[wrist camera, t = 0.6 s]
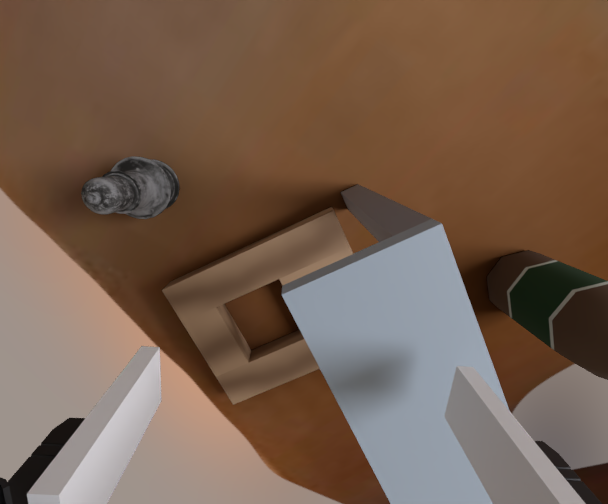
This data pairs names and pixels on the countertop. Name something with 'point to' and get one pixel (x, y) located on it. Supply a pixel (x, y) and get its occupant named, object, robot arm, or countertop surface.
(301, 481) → the countertop surface
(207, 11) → the countertop surface
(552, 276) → the beer bottle
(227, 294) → the socket
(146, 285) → the countertop surface
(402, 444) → the grey arch frame
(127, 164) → the grey chess piece
